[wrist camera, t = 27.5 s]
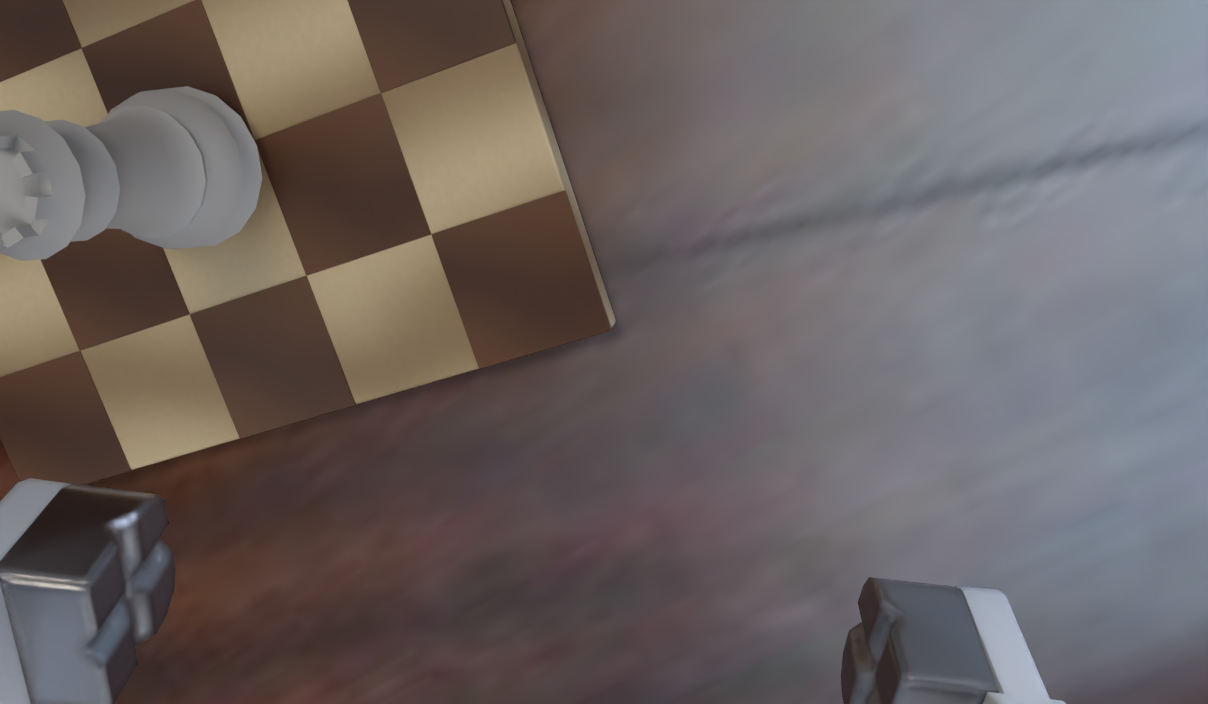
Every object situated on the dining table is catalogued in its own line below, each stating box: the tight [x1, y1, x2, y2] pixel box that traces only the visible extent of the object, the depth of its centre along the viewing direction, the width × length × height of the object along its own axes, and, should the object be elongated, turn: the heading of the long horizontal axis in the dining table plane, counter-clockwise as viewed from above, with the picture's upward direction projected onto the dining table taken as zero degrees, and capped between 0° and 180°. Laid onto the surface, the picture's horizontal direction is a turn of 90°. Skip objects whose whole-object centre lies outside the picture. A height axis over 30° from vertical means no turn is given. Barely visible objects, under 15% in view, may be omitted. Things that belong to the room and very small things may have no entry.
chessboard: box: [0, 0, 616, 485], centre depth 29 cm, size 16×20×1 cm
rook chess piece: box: [0, 86, 262, 261], centre depth 25 cm, size 4×4×8 cm
